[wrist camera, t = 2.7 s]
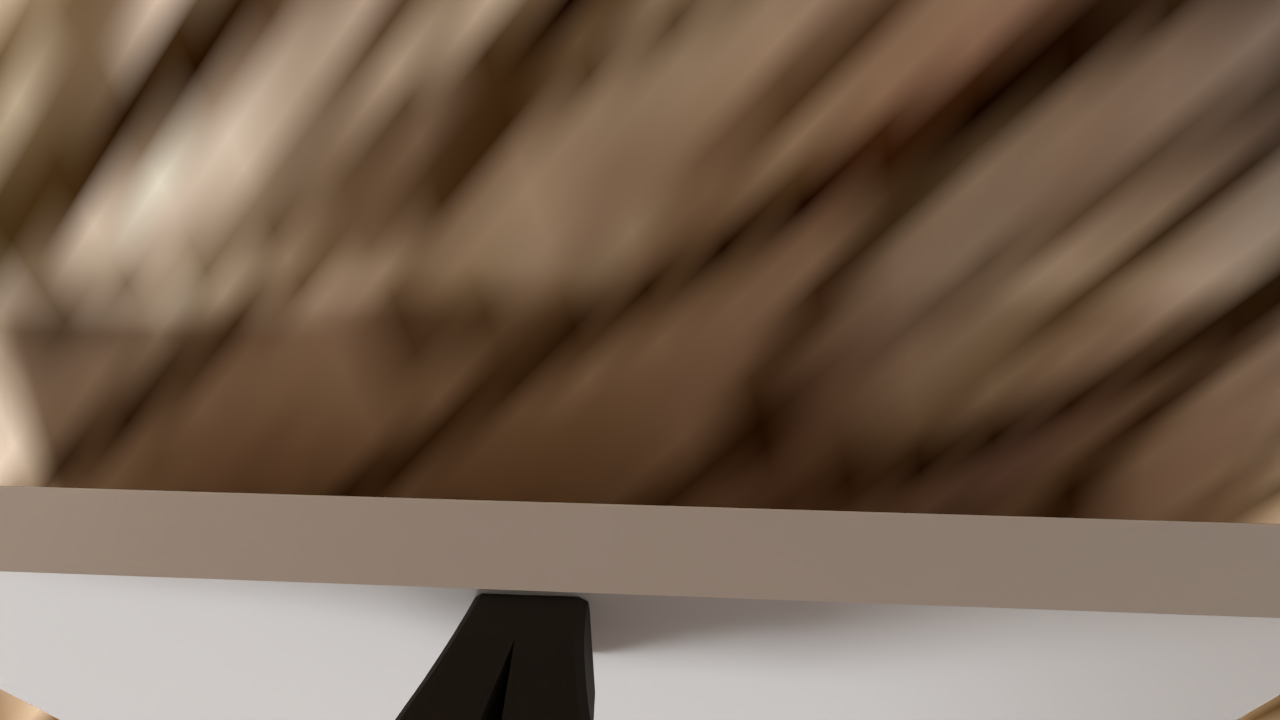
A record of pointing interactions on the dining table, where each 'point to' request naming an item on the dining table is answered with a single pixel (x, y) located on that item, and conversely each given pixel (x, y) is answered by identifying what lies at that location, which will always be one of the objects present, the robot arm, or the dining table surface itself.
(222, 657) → the grey plank
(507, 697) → the robot arm
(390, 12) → the dining table surface
